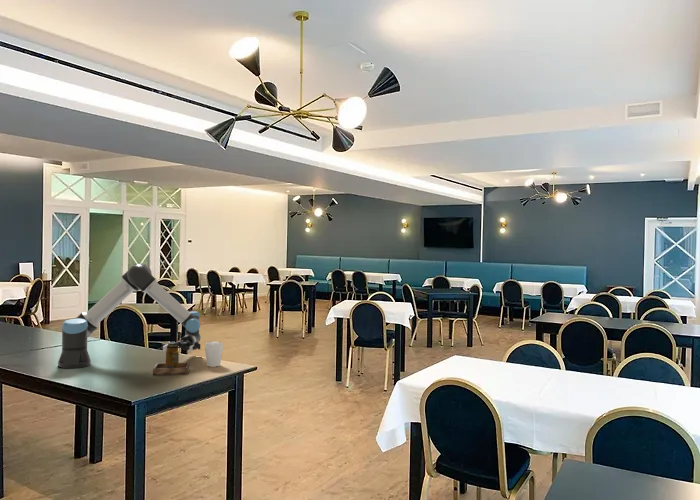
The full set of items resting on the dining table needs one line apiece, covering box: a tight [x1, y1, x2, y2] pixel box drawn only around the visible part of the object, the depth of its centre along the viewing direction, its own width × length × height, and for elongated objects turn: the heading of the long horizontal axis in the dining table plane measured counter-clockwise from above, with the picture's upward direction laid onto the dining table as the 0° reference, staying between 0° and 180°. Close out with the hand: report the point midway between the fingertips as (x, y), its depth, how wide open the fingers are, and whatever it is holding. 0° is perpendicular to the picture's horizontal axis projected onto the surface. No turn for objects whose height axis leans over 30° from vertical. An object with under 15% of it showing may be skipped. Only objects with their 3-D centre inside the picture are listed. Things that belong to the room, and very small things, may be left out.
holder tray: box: [152, 362, 190, 376], centre depth 274 cm, size 16×13×3 cm
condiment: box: [165, 345, 180, 368], centre depth 274 cm, size 7×8×12 cm
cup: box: [204, 340, 224, 368], centre depth 289 cm, size 9×9×12 cm
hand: (176, 349), depth 283 cm, fingers open, 13 cm apart
